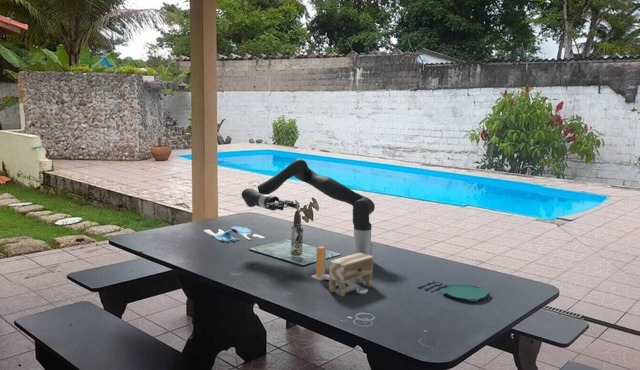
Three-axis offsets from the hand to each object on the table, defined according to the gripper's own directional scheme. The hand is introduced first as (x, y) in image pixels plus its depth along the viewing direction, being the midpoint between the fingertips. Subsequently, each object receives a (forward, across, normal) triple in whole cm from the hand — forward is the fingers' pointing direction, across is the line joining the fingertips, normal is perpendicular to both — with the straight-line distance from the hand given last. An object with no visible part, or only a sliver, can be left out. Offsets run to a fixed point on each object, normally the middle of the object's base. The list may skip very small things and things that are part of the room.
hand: (289, 207), depth 271 cm
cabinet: (+45, -2, +30) cm, 54 cm away
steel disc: (+52, -2, +30) cm, 60 cm away
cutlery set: (+78, +31, +31) cm, 90 cm away
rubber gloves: (-67, +14, +31) cm, 75 cm away
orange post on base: (+30, -2, +30) cm, 43 cm away
